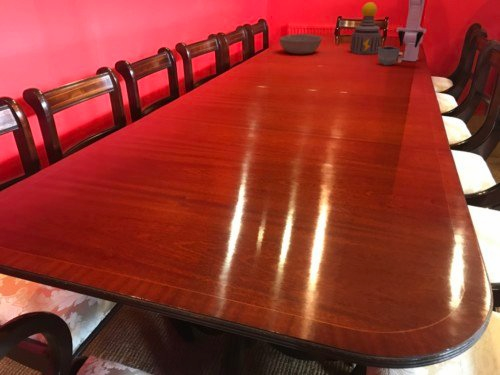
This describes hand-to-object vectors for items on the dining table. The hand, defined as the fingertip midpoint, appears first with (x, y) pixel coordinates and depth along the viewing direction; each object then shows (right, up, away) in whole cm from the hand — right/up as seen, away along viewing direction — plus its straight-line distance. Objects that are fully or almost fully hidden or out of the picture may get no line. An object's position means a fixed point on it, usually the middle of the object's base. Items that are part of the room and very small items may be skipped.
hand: (408, 46), depth 212 cm
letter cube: (+1, -2, +18) cm, 18 cm away
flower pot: (-8, -6, +11) cm, 15 cm away
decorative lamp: (-10, +13, +47) cm, 49 cm away
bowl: (-52, +13, +49) cm, 73 cm away
